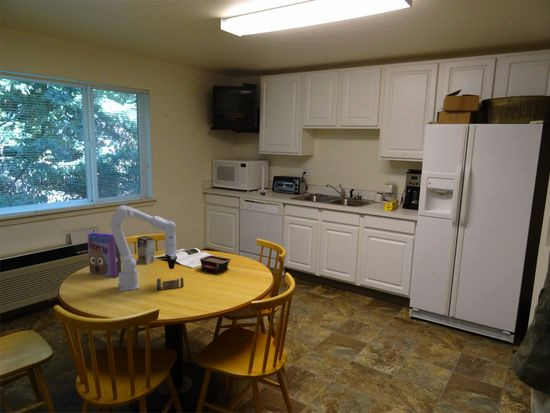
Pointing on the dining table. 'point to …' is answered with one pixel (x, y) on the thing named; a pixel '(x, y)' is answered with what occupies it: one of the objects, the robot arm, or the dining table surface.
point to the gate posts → (160, 283)
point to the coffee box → (145, 249)
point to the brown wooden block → (170, 284)
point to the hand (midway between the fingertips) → (171, 268)
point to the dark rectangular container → (214, 263)
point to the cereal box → (103, 255)
